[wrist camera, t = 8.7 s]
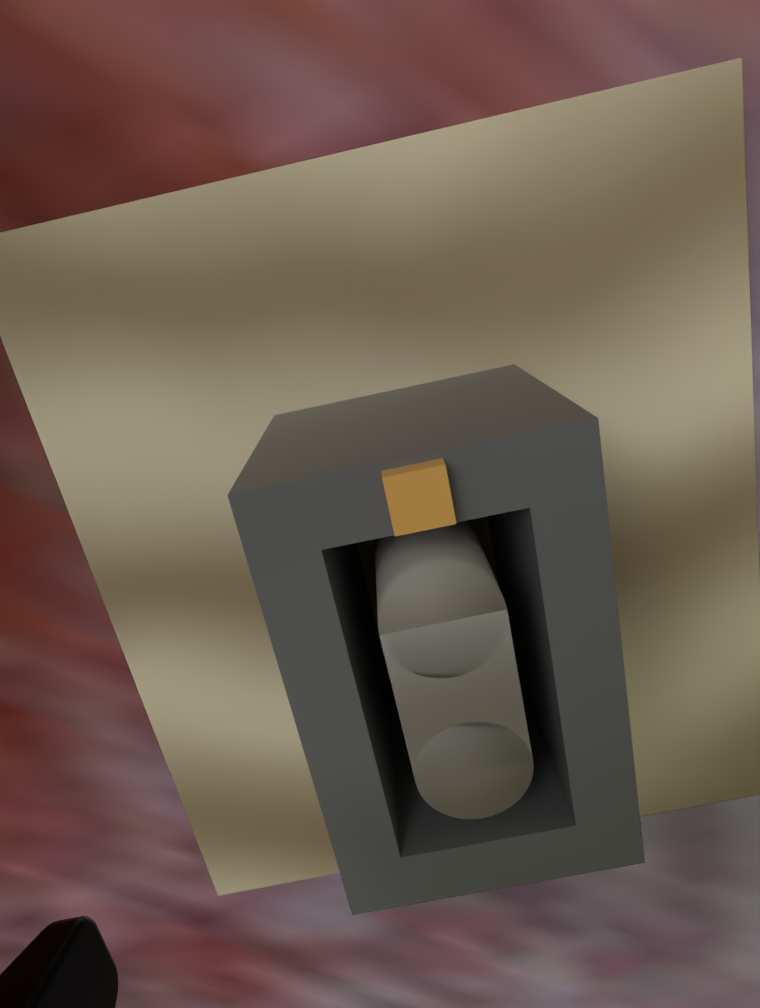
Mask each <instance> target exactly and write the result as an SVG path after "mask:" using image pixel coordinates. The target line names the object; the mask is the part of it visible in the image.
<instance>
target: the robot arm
mask: <svg viewBox="0 0 760 1008" xmlns="http://www.w3.org/2000/svg"><path fill="white" fill-rule="evenodd" d="M117 994H118V973H117V969H116V965H115V963H114V961H113V959H112V957H111V955H110V952H109V950H108V948H107V946H106V944H105V942H104V940H103V938H102V936H101V933H100V931H99V929H98V927H97V925H96V923H95V922H94V920H92V919H91V918H90V917H88V916H81V917H75V918H70V919H65V920H59V921H55V922H53V923H51V924H50V925H48V926H47V927H46V928H45V929H44V930H42V931H41V933H40V934H39V935H38V936H37V937H36V938H35V939H34V940H33V941H32V942H31V943H30V944H29V945H28V946H27V947H26V948H25V949H24V950H23V951H22V952H21V954H20V955H19V956H18V957H17V958H16V959H15V960H14V961H13V962H12V963H11V964H10V965H9V966H8V967H7V968H6V969H5V970H4V971H3V972H2V973H1V974H0V1008H115V1006H116V1000H117Z"/></svg>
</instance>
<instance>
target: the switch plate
mask: <svg viewBox="0 0 760 1008" xmlns="http://www.w3.org/2000/svg"><path fill="white" fill-rule="evenodd" d="M0 337H1V340H2V342H3V345H4V347H5V350H6V352H7V355H8V358H9V360H10V363H11V365H12V368H13V370H14V373H15V376H16V378H17V381H18V383H19V386H20V388H21V391H22V393H23V396H24V399H25V401H26V404H27V406H28V409H29V411H30V414H31V417H32V419H33V422H34V424H35V427H36V429H37V432H38V435H39V437H40V440H41V442H42V445H43V447H44V450H45V453H46V455H47V458H48V460H49V463H50V465H51V468H52V470H53V473H54V476H55V478H56V481H57V483H58V486H59V488H60V491H61V494H62V496H63V499H64V501H65V504H66V506H67V509H68V512H69V514H70V517H71V519H72V522H73V524H74V527H75V530H76V532H77V535H78V537H79V540H80V542H81V545H82V547H83V550H84V553H85V555H86V558H87V560H88V563H89V565H90V568H91V571H92V573H93V576H94V578H95V581H96V583H97V586H98V589H99V591H100V594H101V596H102V599H103V601H104V604H105V607H106V609H107V612H108V614H109V617H110V619H111V622H112V624H113V627H114V630H115V632H116V635H117V637H118V640H119V642H120V645H121V648H122V650H123V653H124V655H125V658H126V660H127V663H128V666H129V668H130V671H131V673H132V676H133V678H134V681H135V684H136V686H137V689H138V691H139V694H140V696H141V699H142V701H143V704H144V707H145V709H146V712H147V714H148V717H149V719H150V722H151V725H152V727H153V730H154V732H155V735H156V737H157V740H158V743H159V745H160V748H161V750H162V753H163V755H164V758H165V760H166V763H167V766H168V768H169V771H170V773H171V776H172V778H173V781H174V784H175V786H176V789H177V791H178V794H179V796H180V799H181V802H182V804H183V807H184V809H185V812H186V814H187V817H188V820H189V822H190V825H191V827H192V830H193V832H194V835H195V837H196V840H197V843H198V845H199V848H200V850H201V853H202V855H203V858H204V861H205V863H206V866H207V868H208V871H209V873H210V876H211V879H212V881H213V884H214V886H215V889H216V891H217V894H218V896H219V895H225V894H230V893H235V892H241V891H246V890H251V889H257V888H262V887H267V886H273V885H278V884H283V883H289V882H294V881H299V880H305V879H310V878H315V877H321V876H326V875H332V874H337V873H340V871H339V868H338V865H337V861H336V858H335V854H334V851H333V848H332V844H331V841H330V838H329V834H328V831H327V828H326V824H325V821H324V818H323V814H322V811H321V808H320V804H319V801H318V797H317V794H316V791H315V787H314V784H313V781H312V777H311V774H310V771H309V767H308V764H307V761H306V757H305V754H304V751H303V747H302V744H301V741H300V737H299V734H298V730H297V727H296V724H295V720H294V717H293V714H292V710H291V707H290V704H289V700H288V697H287V694H286V690H285V687H284V684H283V680H282V677H281V673H280V670H279V667H278V663H277V660H276V657H275V653H274V650H273V647H272V643H271V640H270V637H269V633H268V630H267V627H266V623H265V620H264V616H263V613H262V610H261V606H260V603H259V600H258V596H257V593H256V590H255V586H254V583H253V580H252V576H251V573H250V570H249V566H248V563H247V559H246V556H245V553H244V549H243V546H242V543H241V539H240V536H239V533H238V529H237V526H236V523H235V519H234V516H233V513H232V509H231V506H230V502H229V499H228V496H227V495H228V493H229V492H230V490H231V488H232V486H233V485H234V483H235V481H236V480H237V478H238V476H239V475H240V473H241V471H242V469H243V468H244V466H245V464H246V463H247V461H248V459H249V457H250V456H251V454H252V452H253V451H254V449H255V447H256V445H257V444H258V442H259V440H260V439H261V437H262V435H263V434H264V432H265V430H266V428H267V427H268V425H269V423H270V422H271V420H272V418H273V416H274V415H278V414H283V413H287V412H292V411H297V410H301V409H306V408H311V407H315V406H320V405H325V404H330V403H334V402H339V401H344V400H348V399H353V398H358V397H363V396H367V395H372V394H377V393H381V392H386V391H391V390H395V389H400V388H405V387H410V386H414V385H419V384H424V383H428V382H433V381H438V380H442V379H447V378H452V377H457V376H461V375H466V374H471V373H475V372H480V371H485V370H489V369H494V368H499V367H504V366H508V365H513V364H515V365H516V366H518V367H520V368H521V369H523V370H524V371H526V372H527V373H529V374H530V375H532V376H534V377H535V378H537V379H538V380H540V381H541V382H543V383H544V384H546V385H548V386H549V387H551V388H552V389H554V390H555V391H557V392H558V393H560V394H562V395H563V396H565V397H566V398H568V399H569V400H571V401H572V402H574V403H576V404H577V405H579V406H580V407H582V408H583V409H585V410H586V411H588V412H590V413H591V414H593V415H594V416H596V417H597V418H598V420H599V430H600V440H601V449H602V459H603V468H604V478H605V487H606V497H607V507H608V516H609V526H610V535H611V545H612V554H613V564H614V574H615V583H616V593H617V602H618V612H619V621H620V631H621V641H622V650H623V660H624V669H625V679H626V688H627V698H628V708H629V717H630V727H631V736H632V746H633V755H634V765H635V775H636V784H637V794H638V803H639V813H640V817H642V816H647V815H652V814H658V813H663V812H668V811H674V810H679V809H684V808H690V807H695V806H700V805H706V804H711V803H716V802H722V801H727V800H733V799H738V798H743V797H749V796H754V795H759V794H760V576H759V546H758V517H757V488H756V459H755V429H754V400H753V371H752V342H751V313H750V283H749V254H748V225H747V196H746V167H745V137H744V108H743V79H742V58H738V59H734V60H730V61H725V62H721V63H717V64H713V65H708V66H704V67H700V68H696V69H691V70H687V71H683V72H679V73H675V74H670V75H666V76H662V77H658V78H653V79H649V80H645V81H641V82H636V83H632V84H628V85H624V86H619V87H615V88H611V89H607V90H603V91H598V92H594V93H590V94H586V95H581V96H577V97H573V98H569V99H564V100H560V101H556V102H552V103H547V104H543V105H539V106H535V107H531V108H526V109H522V110H518V111H514V112H509V113H505V114H501V115H497V116H492V117H488V118H484V119H480V120H475V121H471V122H467V123H463V124H459V125H454V126H450V127H446V128H442V129H437V130H433V131H429V132H425V133H420V134H416V135H412V136H408V137H403V138H399V139H395V140H391V141H387V142H382V143H378V144H374V145H370V146H365V147H361V148H357V149H353V150H348V151H344V152H340V153H336V154H331V155H327V156H323V157H319V158H315V159H310V160H306V161H302V162H298V163H293V164H289V165H285V166H281V167H276V168H272V169H268V170H264V171H259V172H255V173H251V174H247V175H243V176H238V177H234V178H230V179H226V180H221V181H217V182H213V183H209V184H204V185H200V186H196V187H192V188H187V189H183V190H179V191H175V192H171V193H166V194H162V195H158V196H154V197H149V198H145V199H141V200H137V201H132V202H128V203H124V204H120V205H115V206H111V207H107V208H103V209H98V210H94V211H90V212H86V213H82V214H77V215H73V216H69V217H65V218H60V219H56V220H52V221H48V222H43V223H39V224H35V225H31V226H26V227H22V228H18V229H14V230H10V231H5V232H1V233H0ZM357 547H358V551H359V555H360V560H361V564H362V568H363V572H364V576H365V581H366V585H367V589H368V593H369V597H370V602H371V606H372V610H373V614H374V618H375V623H376V627H377V631H378V635H379V640H380V644H381V648H382V652H383V656H384V661H385V665H386V669H387V673H388V677H389V678H390V681H391V685H392V689H393V693H394V697H395V701H396V705H397V709H398V713H399V717H400V721H401V725H402V730H403V734H404V738H405V742H406V746H407V750H408V754H409V758H410V762H411V766H412V770H413V774H414V779H415V783H416V786H417V789H418V791H419V793H420V795H421V796H422V797H423V799H424V800H425V801H426V802H427V803H428V804H429V805H430V806H431V807H433V808H434V809H435V810H437V811H439V812H440V813H443V814H445V815H448V816H451V817H455V818H460V819H480V818H486V817H490V816H493V815H496V814H499V813H501V812H503V811H505V810H506V809H508V808H510V807H511V806H512V805H514V804H515V803H516V802H517V801H518V800H519V799H520V798H521V797H522V796H523V795H524V793H525V792H526V791H527V789H528V787H529V785H530V783H531V780H532V776H533V769H534V765H533V757H532V751H531V745H530V740H529V734H528V728H527V722H526V716H525V711H524V705H523V699H522V693H521V687H520V681H519V676H518V670H517V664H516V658H515V652H514V647H513V641H512V635H511V629H510V623H509V618H508V612H507V607H506V603H505V600H504V598H503V595H502V593H501V591H500V588H499V583H498V577H497V571H496V565H495V559H494V553H493V547H492V541H491V535H490V529H489V523H488V517H487V516H486V517H481V518H476V519H471V520H467V521H462V522H457V523H456V524H454V525H449V526H444V527H439V528H435V529H430V530H425V531H420V532H415V533H410V534H405V535H400V536H395V535H393V536H388V537H383V538H378V539H373V540H368V541H363V542H358V543H357Z"/></svg>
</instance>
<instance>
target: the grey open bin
mask: <svg viewBox="0 0 760 1008" xmlns="http://www.w3.org/2000/svg"><path fill="white" fill-rule="evenodd" d="M227 496H228V499H229V502H230V506H231V509H232V513H233V516H234V519H235V523H236V526H237V529H238V533H239V536H240V539H241V543H242V546H243V549H244V553H245V556H246V559H247V563H248V566H249V570H250V573H251V576H252V580H253V583H254V586H255V590H256V593H257V596H258V600H259V603H260V606H261V610H262V613H263V616H264V620H265V623H266V627H267V630H268V633H269V637H270V640H271V643H272V647H273V650H274V653H275V657H276V660H277V663H278V667H279V670H280V673H281V677H282V680H283V684H284V687H285V690H286V694H287V697H288V700H289V704H290V707H291V710H292V714H293V717H294V720H295V724H296V727H297V730H298V734H299V737H300V741H301V744H302V747H303V751H304V754H305V757H306V761H307V764H308V767H309V771H310V774H311V777H312V781H313V784H314V787H315V791H316V794H317V797H318V801H319V804H320V808H321V811H322V814H323V818H324V821H325V824H326V828H327V831H328V834H329V838H330V841H331V844H332V848H333V851H334V854H335V858H336V861H337V865H338V868H339V871H340V875H341V878H342V881H343V885H344V888H345V891H346V895H347V898H348V901H349V905H350V908H351V911H352V915H355V914H360V913H366V912H372V911H377V910H383V909H388V908H394V907H399V906H405V905H411V904H416V903H422V902H427V901H433V900H439V899H444V898H450V897H455V896H461V895H466V894H472V893H478V892H483V891H489V890H494V889H500V888H505V887H511V886H517V885H522V884H528V883H533V882H539V881H545V880H550V879H556V878H561V877H567V876H572V875H578V874H584V873H589V872H595V871H600V870H606V869H612V868H617V867H623V866H628V865H634V864H639V863H645V861H644V851H643V842H642V832H641V822H640V813H639V803H638V794H637V784H636V775H635V765H634V755H633V746H632V736H631V727H630V717H629V708H628V698H627V688H626V679H625V669H624V660H623V650H622V641H621V631H620V621H619V612H618V602H617V593H616V583H615V574H614V564H613V554H612V545H611V535H610V526H609V516H608V507H607V497H606V487H605V478H604V468H603V459H602V449H601V440H600V430H599V420H598V418H597V417H596V416H594V415H593V414H591V413H590V412H588V411H586V410H585V409H583V408H582V407H580V406H579V405H577V404H576V403H574V402H572V401H571V400H569V399H568V398H566V397H565V396H563V395H562V394H560V393H558V392H557V391H555V390H554V389H552V388H551V387H549V386H548V385H546V384H544V383H543V382H541V381H540V380H538V379H537V378H535V377H534V376H532V375H530V374H529V373H527V372H526V371H524V370H523V369H521V368H520V367H518V366H516V365H515V364H513V365H508V366H504V367H499V368H494V369H489V370H485V371H480V372H475V373H471V374H466V375H461V376H457V377H452V378H447V379H442V380H438V381H433V382H428V383H424V384H419V385H414V386H410V387H405V388H400V389H395V390H391V391H386V392H381V393H377V394H372V395H367V396H363V397H358V398H353V399H348V400H344V401H339V402H334V403H330V404H325V405H320V406H315V407H311V408H306V409H301V410H297V411H292V412H287V413H283V414H278V415H274V416H273V418H272V420H271V422H270V423H269V425H268V427H267V428H266V430H265V432H264V434H263V435H262V437H261V439H260V440H259V442H258V444H257V445H256V447H255V449H254V451H253V452H252V454H251V456H250V457H249V459H248V461H247V463H246V464H245V466H244V468H243V469H242V471H241V473H240V475H239V476H238V478H237V480H236V481H235V483H234V485H233V486H232V488H231V490H230V492H229V493H228V495H227ZM486 516H487V517H488V523H489V529H490V535H491V541H492V547H493V553H494V559H495V565H496V571H497V577H498V583H499V588H500V591H501V593H502V595H503V598H504V600H505V603H506V607H507V612H508V618H509V623H510V629H511V635H512V641H513V647H514V652H515V658H516V664H517V670H518V676H519V681H520V687H521V693H522V699H523V705H524V711H525V716H526V722H527V728H528V734H529V740H530V745H531V751H532V757H533V765H534V769H533V776H532V780H531V783H530V785H529V787H528V789H527V791H526V792H525V793H524V795H523V796H522V797H521V798H520V799H519V800H518V801H517V802H516V803H515V804H514V805H512V806H511V807H510V808H508V809H506V810H505V811H503V812H501V813H499V814H496V815H493V816H490V817H486V818H480V819H460V818H455V817H451V816H448V815H445V814H443V813H440V812H439V811H437V810H435V809H434V808H433V807H431V806H430V805H429V804H428V803H427V802H426V801H425V800H424V799H423V797H422V796H421V795H420V793H419V791H418V789H417V786H416V783H415V779H414V774H413V770H412V766H411V762H410V758H409V754H408V750H407V746H406V742H405V738H404V734H403V730H402V725H401V721H400V717H399V713H398V709H397V705H396V701H395V697H394V693H393V689H392V685H391V681H390V678H389V677H388V673H387V669H386V665H385V661H384V656H383V652H382V648H381V644H380V640H379V635H378V631H377V627H376V623H375V618H374V614H373V610H372V606H371V602H370V597H369V593H368V589H367V585H366V581H365V576H364V572H363V568H362V564H361V560H360V555H359V551H358V547H357V543H358V542H363V541H368V540H373V539H378V538H383V537H388V536H393V535H395V536H400V535H405V534H410V533H415V532H420V531H425V530H430V529H435V528H439V527H444V526H449V525H454V524H456V523H457V522H462V521H467V520H471V519H476V518H481V517H486Z"/></svg>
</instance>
